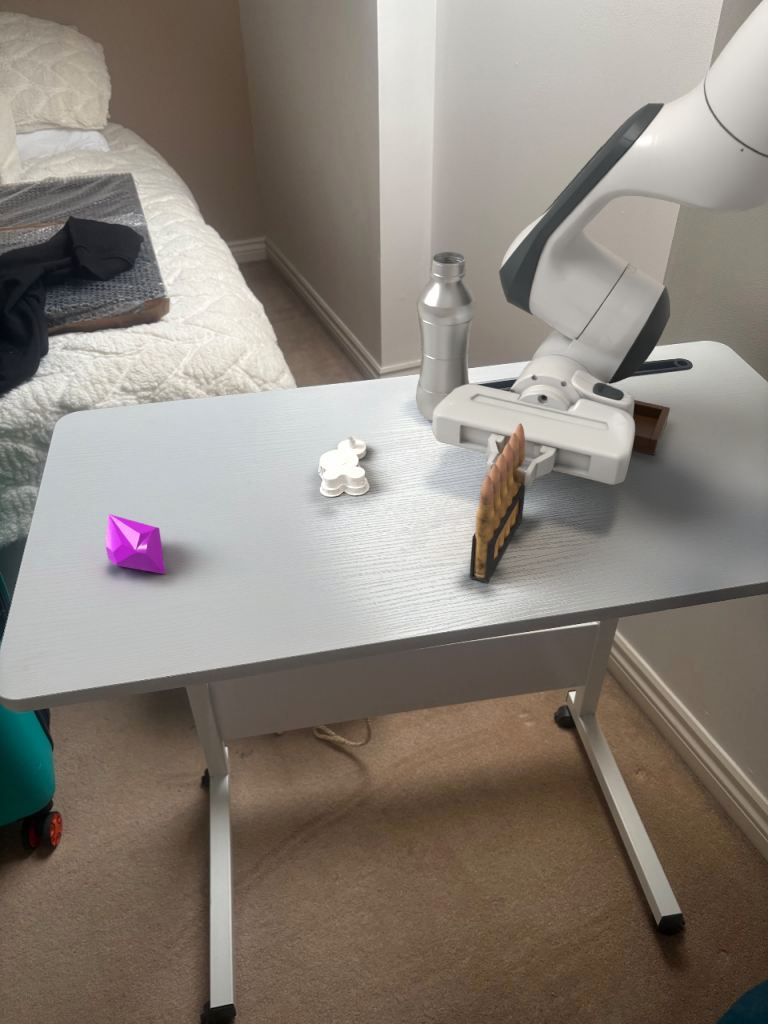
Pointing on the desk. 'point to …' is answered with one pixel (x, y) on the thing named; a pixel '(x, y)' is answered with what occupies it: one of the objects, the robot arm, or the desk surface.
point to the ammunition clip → (498, 509)
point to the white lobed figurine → (343, 469)
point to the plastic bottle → (444, 331)
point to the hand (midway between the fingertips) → (507, 475)
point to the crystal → (134, 545)
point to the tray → (648, 426)
